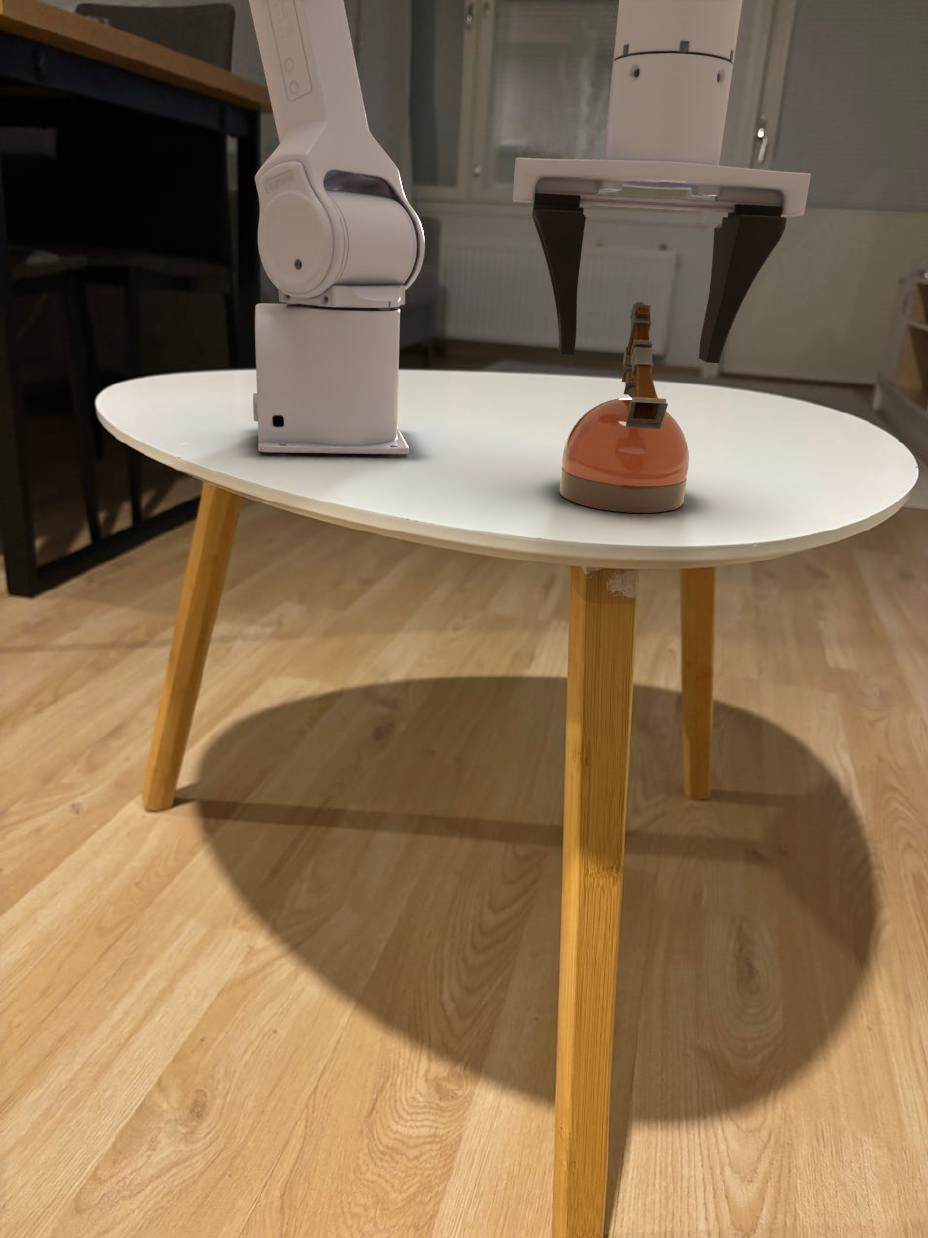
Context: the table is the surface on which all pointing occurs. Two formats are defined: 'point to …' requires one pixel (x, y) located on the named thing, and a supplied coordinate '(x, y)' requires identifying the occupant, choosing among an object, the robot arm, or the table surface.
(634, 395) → the wooden post with brackets
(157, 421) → the table surface
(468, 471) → the table surface
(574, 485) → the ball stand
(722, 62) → the robot arm
